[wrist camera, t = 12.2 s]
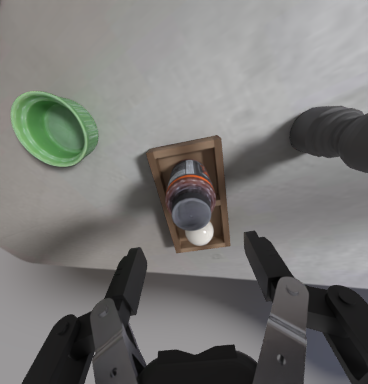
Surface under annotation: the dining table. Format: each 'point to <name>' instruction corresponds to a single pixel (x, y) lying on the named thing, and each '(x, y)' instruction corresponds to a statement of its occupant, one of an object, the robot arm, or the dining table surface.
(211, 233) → the egg
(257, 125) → the dining table surface
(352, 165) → the grey turned candlestick
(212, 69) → the dining table surface
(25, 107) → the ramekin
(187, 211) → the supplement bottle
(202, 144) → the holder
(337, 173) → the dining table surface
